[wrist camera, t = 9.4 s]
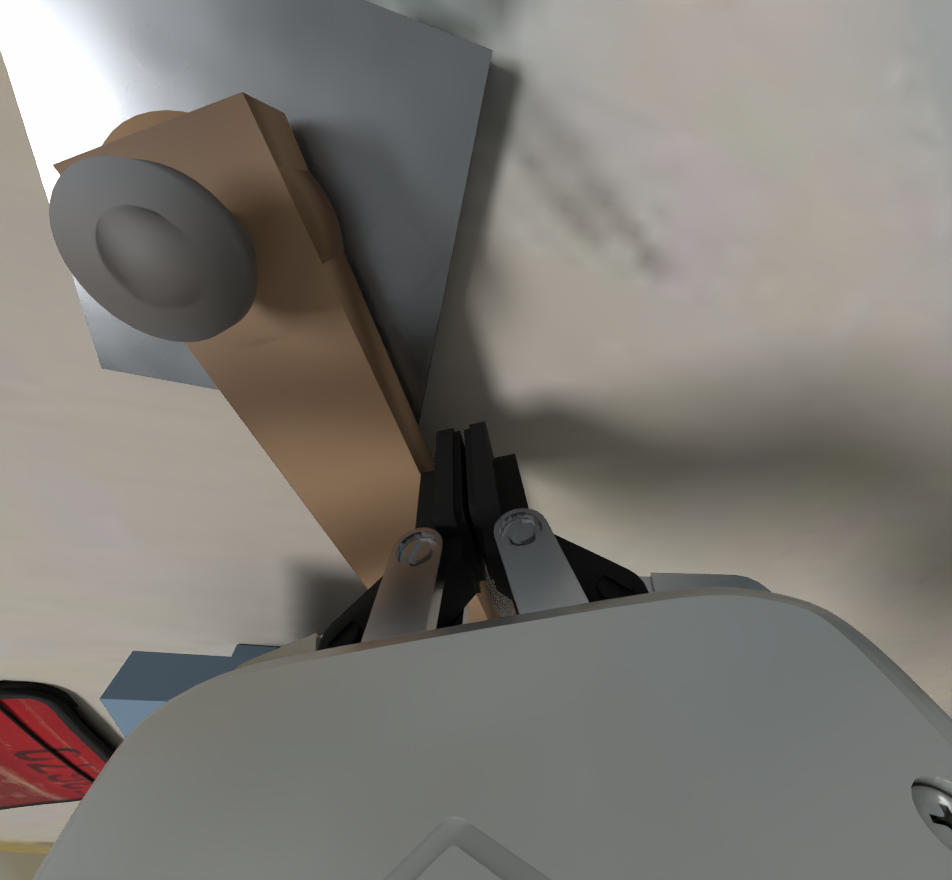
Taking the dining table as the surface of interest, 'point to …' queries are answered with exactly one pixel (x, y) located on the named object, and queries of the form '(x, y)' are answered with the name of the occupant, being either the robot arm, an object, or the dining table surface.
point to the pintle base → (309, 115)
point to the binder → (45, 747)
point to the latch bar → (254, 305)
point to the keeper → (164, 680)
